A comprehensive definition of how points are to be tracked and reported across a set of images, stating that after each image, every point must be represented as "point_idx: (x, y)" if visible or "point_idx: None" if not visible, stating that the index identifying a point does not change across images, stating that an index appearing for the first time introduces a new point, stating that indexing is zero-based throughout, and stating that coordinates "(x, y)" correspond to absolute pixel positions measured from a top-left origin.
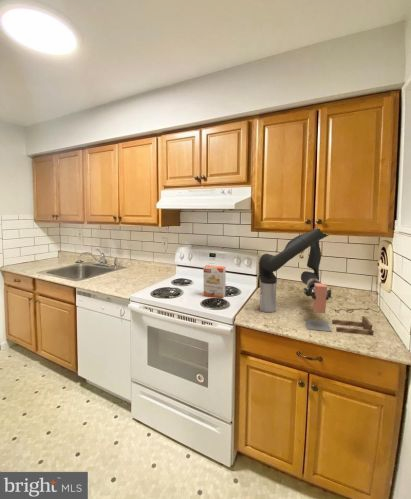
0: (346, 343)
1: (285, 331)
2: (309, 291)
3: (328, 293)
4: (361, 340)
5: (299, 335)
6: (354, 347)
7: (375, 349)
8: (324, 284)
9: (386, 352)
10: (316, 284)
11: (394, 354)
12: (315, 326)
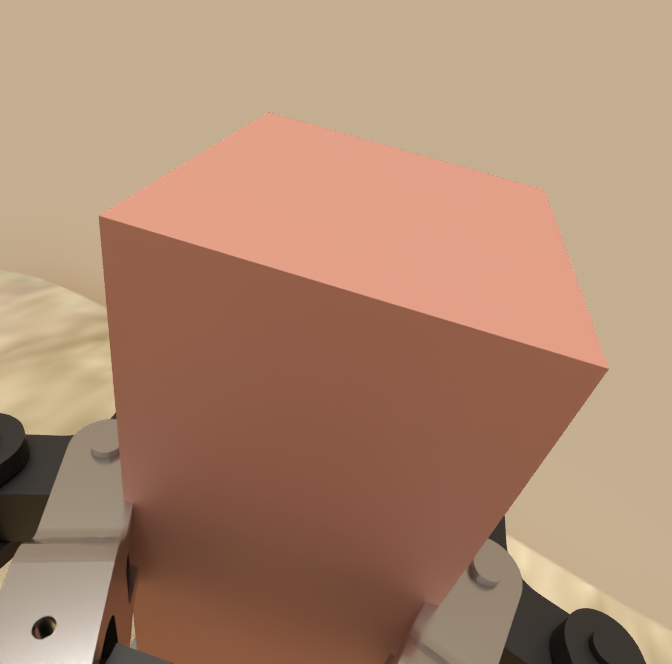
0: None
1: (607, 604)
2: (581, 662)
3: (21, 465)
4: (47, 403)
5: None
6: None
7: (69, 325)
8: (215, 181)
9: (37, 300)
10: (522, 250)
11: (14, 284)
12: None
